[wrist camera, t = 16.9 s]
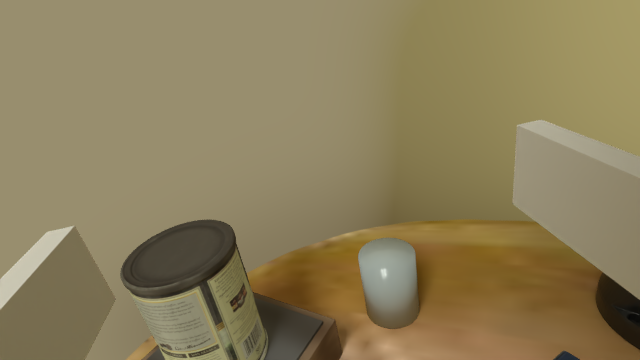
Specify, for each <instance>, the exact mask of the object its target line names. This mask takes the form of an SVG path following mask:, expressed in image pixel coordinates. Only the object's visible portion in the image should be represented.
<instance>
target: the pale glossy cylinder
mask: <svg viewBox="0 0 640 360" xmlns="http://www.w3.org/2000/svg"><path fill="white" fill-rule="evenodd" d="M358 259H359V265H360V272H361V278H362V284H363V291H364V297H365V303H366V310H367V314H368V316H369V318H370V319H371V320H372V321H373V322H374V323H375V324H377V325H378V326H381V327H384V328H388V329H398V328H403V327H406V326H408V325H410V324H411V323H413V322H414V321H415V320H416V318H417V317H418V314H419V297H418V284H417V271H416V257H415V251H414V248H413V247H412V246H411V245H410V244H409V243H407V242H405V241H403V240H400V239H396V238H381V239H376V240H373V241H371V242H369V243H367V244H366V245H364V246H363V247H362V248H361V250H360V251H359V255H358Z"/></svg>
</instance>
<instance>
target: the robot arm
mask: <svg viewBox="0 0 640 360" xmlns="http://www.w3.org/2000/svg"><path fill="white" fill-rule="evenodd" d="M513 189H514V190H513V205H515V206H516V207H517V208H519V209H520V210H521V211H523V212H524V213H525V214H527V215H528V216H529V217H531V218H532V219H533V220H535V221H536V222H537V223H539V224H540V225H541V226H543V227H544V228H545V229H546V230H548V231H549V232H550V233H552V234H553V235H554V236H556V237H557V238H558V239H560V240H561V241H562V242H564V243H565V244H566V245H568V246H569V247H570V248H572V249H573V250H574V251H576V252H577V253H578V254H580V255H581V256H582V257H584V258H585V259H586V260H588V261H589V262H590V263H592V264H593V265H594V266H596V267H597V268H598V269H600V270H601V271H602V272H603V273H602V275H601V277H600V279H599V282H598V287H597V292H596V303H597V306H598V309H599V311H600V313H601V314H602V316H603V318H604V319H605V320H606V321H607V323H608V324H609V325H610V326H611V327H612V328H613V329H614V330H615V331H616V332H617V333H618V334H619V335H621V336H622V337H623V338H624V339H626V340H627V341H628V342H630V343H631V344H633V345H634V346H636V347H637V348H639V349H640V157H639V156H637V155H634V154H631V153H629V152H626V151H623V150H620V149H618V148H615V147H613V146H610V145H607V144H604V143H602V142H599V141H597V140H594V139H591V138H589V137H586V136H583V135H581V134H578V133H575V132H573V131H570V130H567V129H565V128H562V127H559V126H557V125H554V124H551V123H549V122H546V121H543V120H537V121H533V122H529V123H525V124H520V125H517V135H516V153H515V172H514V188H513ZM115 300H116V299H115V296H114V295H113V293H112V291H111V289H110V288H109V286H108V284H107V282H106V280H105V279H104V277H103V275H102V273H101V272H100V270H99V268H98V266H97V264H96V263H95V261H94V259H93V257H92V256H91V254H90V252H89V250H88V248H87V247H86V245H85V243H84V241H83V240H82V238H81V236H80V234H79V232H78V231H77V229H76V227H75V226H72V227H67V228H63V229H58V230H54V231H49V232H47V233H46V234H45V235H44V236H43V237H42V238H41V239H40V240H39V241H38V242H37V243H36V244H35V245H34V246H33V247H32V248H31V249H30V250H29V251H28V252H27V253H26V254H25V255H24V256H23V257H22V258H21V259H20V260H19V261H18V262H17V263H16V264H15V265H14V266H13V267H12V268H11V269H10V270H9V271H8V272H7V273H6V274H5V275H4V276H3V277H2V278H1V279H0V360H85V358H86V357H87V354H88V353H89V351H90V349H91V347H92V345H93V343H94V341H95V339H96V337H97V335H98V333H99V331H100V329H101V327H102V325H103V323H104V321H105V320H106V318H107V316H108V314H109V312H110V310H111V308H112V306H113V304H114V302H115Z"/></svg>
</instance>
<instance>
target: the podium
mask: <svg viewBox="0 0 640 360" xmlns="http://www.w3.org/2000/svg"><path fill="white" fill-rule="evenodd" d="M252 293H253V296H254V299H255V302H256V305H257V307H258V311H259V313H260V316H261V320H262V323H263V326H264V328H265V330H266V332H267V336H268V348H267V353H266V356H265V358H264V360H339V358H340V356H341V355H342V350H341V345H340V340H339V336H338V331H337V326H336V321H335V319H332V318H329V317H326V316H323V315H320V314H317V313H314V312H311V311H308V310H305V309H302V308H299V307H296V306H293V305H290V304H287V303H284V302H281V301H278V300H275V299H272V298H269V297H266V296H263V295H260V294H257V293H254V292H252ZM142 360H165V358H164V356H163V354H162V352H161V350H160V348H159V347H158V345H157V346H156V347H155V348H154V349H153V350H151V351H150V352H149V353H148V354H147V355H146V356H145V357H144V358H143V359H142Z"/></svg>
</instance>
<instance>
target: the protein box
mask: <svg viewBox="0 0 640 360" xmlns="http://www.w3.org/2000/svg"><path fill="white" fill-rule="evenodd" d="M553 360H580V359H578V358H577V357H575V356H573V355H572V354H570V353H568V352H566V351H563V352H561V353H560V354H559V355H558V356H557V357H556V358H554V359H553Z"/></svg>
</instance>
